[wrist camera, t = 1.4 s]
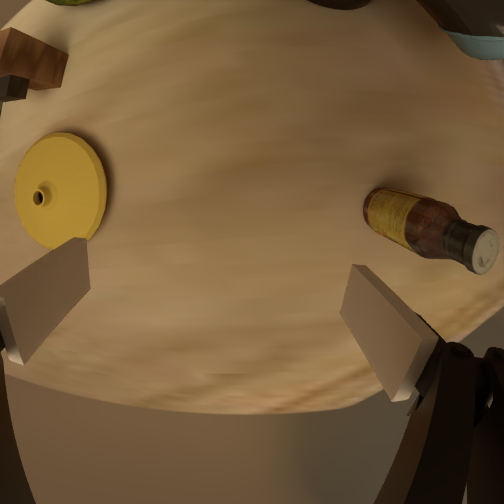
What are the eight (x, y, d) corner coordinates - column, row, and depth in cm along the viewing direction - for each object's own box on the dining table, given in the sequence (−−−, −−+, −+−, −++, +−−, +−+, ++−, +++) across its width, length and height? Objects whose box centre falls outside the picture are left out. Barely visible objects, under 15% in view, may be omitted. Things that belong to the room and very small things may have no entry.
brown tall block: (43, 59, 27) (-16, 37, 14) (68, 55, 28) (11, 27, 15) (32, 106, 29) (-33, 98, 16) (57, 104, 30) (-9, 92, 17)
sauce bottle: (365, 236, 38) (455, 301, 20) (357, 191, 36) (457, 228, 18) (404, 224, 38) (503, 276, 19) (398, 181, 36) (506, 210, 17)
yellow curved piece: (15, 209, 34) (-14, 219, 27) (54, 114, 31) (25, 110, 24) (86, 266, 38) (63, 286, 31) (136, 168, 34) (115, 171, 27)
